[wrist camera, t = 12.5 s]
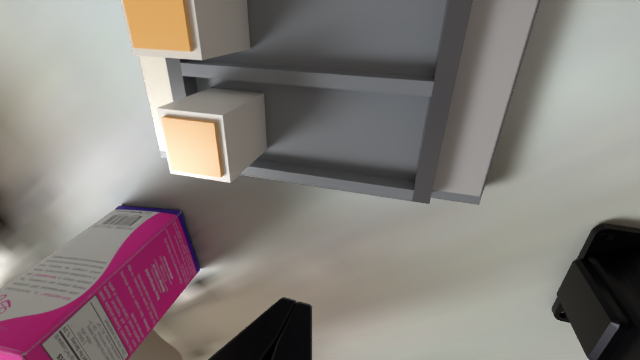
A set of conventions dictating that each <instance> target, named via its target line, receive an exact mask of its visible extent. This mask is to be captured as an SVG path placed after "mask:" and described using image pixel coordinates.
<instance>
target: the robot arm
mask: <svg viewBox="0 0 640 360" xmlns="http://www.w3.org/2000/svg"><path fill="white" fill-rule="evenodd" d="M605 233H609V234H608V235H607V236H604V237H601V235H602V234H605ZM557 296H558V297H557V299H556V301H555V303H554V305H553V306H552V312H553V314H554V316H555V318H556V319H557V320H560V321H564V322H569V323H571V325H572V327H573V329H574V331H575V334H576V336H577V338H578V340H579V342H580V344H581V346H582V348H583V350H584V352H585V354H586V356H587V357H588V359H589V360H640V229H636V228H629V227H623V226H616V225H609V224H601V225H598V226H596V227H594V228H593V229H592V230H591V232H590V234H589V236H588V238H587V240H586V242H585V244H584V246H583V248H582V250H581V252H580V254H579V256H578V258H577V259H576V260H574V261H573V262H572V264H571V266H570V268H569V270H568V272H567V274H566V276H565V278H564V280H563V282H562V284H561V286H560V288H559V290H558V292H557ZM561 312H563V313H561ZM208 360H312V306H311V305H310V304H307V303H303V302H296V301H295V300H292V299H289V298H285V297H283V298H281V299H280V300H278V301H277V302H276V303H275V304H274V305H272V306H271V307H270V308H269V309H268V310H266V311H265V312H264V313H263V314H262V315H260V316H259V317H258V318H257V319H256V320H255V321H253V322H252V323H251V324H250V325H249V326H247V327H246V328H245V329H244V330H243V331H241V332H240V333H239V334H238V335H237V336H235V337H234V338H233V339H232V340H231V341H229V342H228V343H227V344H226V345H225V346H224V347H222V348H221V349H220V350H219V351H218V352H216V353H215V354H214V355H213V356H212V357H210V358H209V359H208Z"/></svg>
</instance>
